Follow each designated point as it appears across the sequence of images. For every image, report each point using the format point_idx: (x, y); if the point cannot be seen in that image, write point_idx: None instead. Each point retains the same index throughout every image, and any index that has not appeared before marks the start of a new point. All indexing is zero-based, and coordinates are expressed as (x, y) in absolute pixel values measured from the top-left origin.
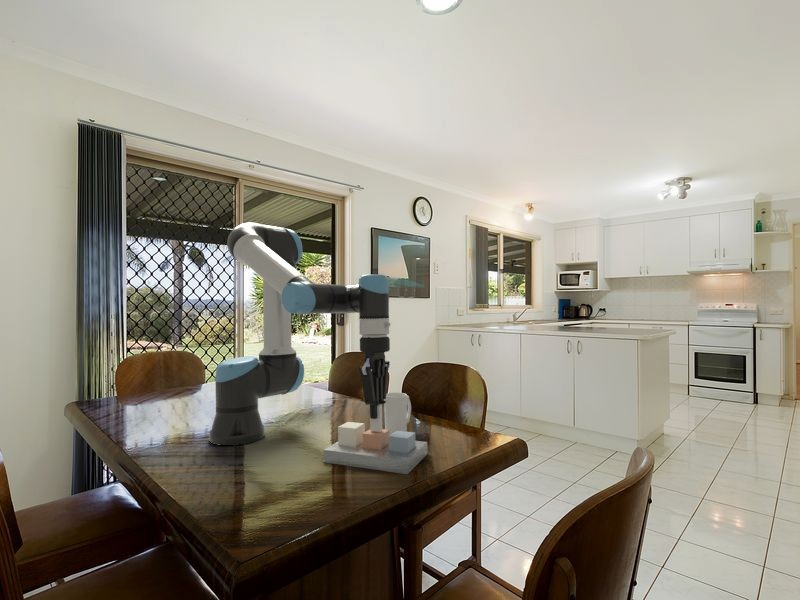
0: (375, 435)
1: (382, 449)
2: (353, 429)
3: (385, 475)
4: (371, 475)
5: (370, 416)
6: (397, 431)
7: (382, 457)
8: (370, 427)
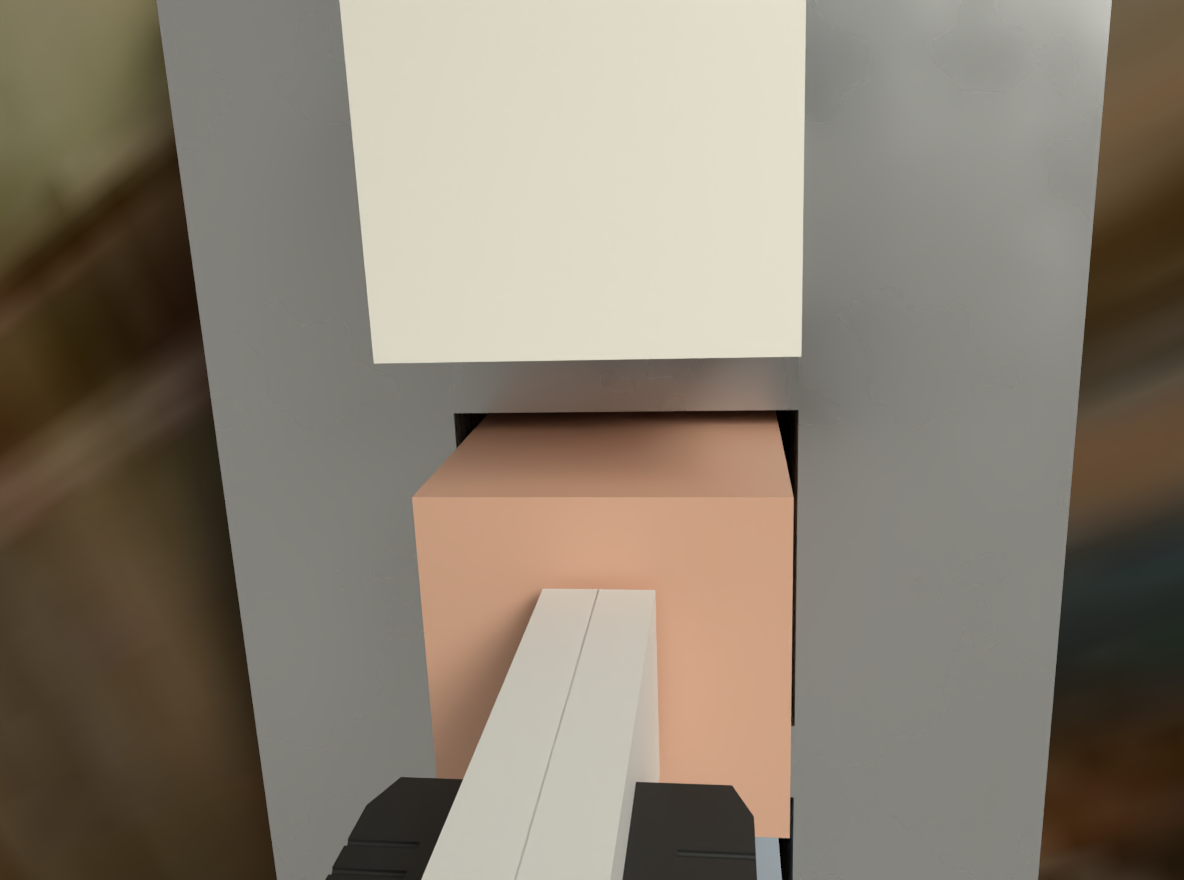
0: (433, 728)
1: None
2: (377, 314)
3: (242, 791)
4: (179, 671)
5: (362, 817)
6: None
7: (269, 811)
8: (528, 627)
